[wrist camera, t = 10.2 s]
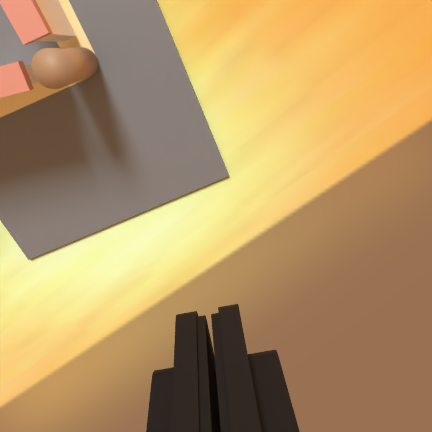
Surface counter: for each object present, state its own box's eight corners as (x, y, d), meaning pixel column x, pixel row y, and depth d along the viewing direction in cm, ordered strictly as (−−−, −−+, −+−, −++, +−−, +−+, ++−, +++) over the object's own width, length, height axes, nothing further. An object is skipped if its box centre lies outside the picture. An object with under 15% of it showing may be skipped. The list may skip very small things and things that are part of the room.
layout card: (79, -186, 25) (78, -189, 25) (228, 174, 35) (229, 176, 35) (-189, -51, 26) (-194, -53, 26) (29, 258, 37) (28, 260, 37)
